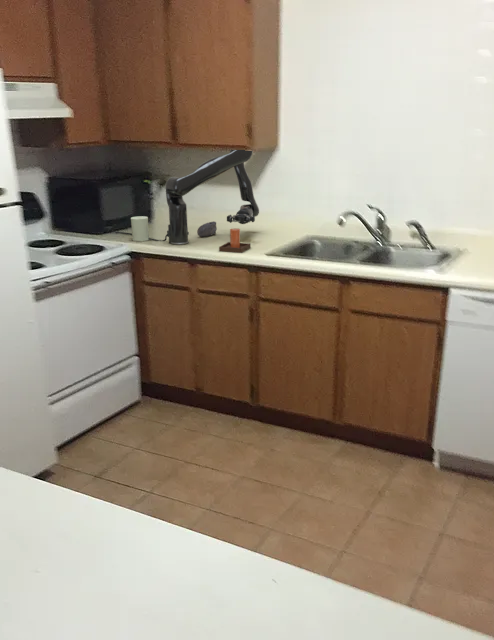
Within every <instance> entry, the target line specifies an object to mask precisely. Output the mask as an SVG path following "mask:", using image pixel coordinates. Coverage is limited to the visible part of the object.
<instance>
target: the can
mask: <svg viewBox="0 0 494 640" xmlns="http://www.w3.org/2000/svg"><path fill="white" fill-rule="evenodd" d="M130 224H131V225H130V226H131V233H132V235H131V237H132V241H133V242H147V241H150V240H149V238H150V231H149V229H150V228H149V217H148V216H145V215H143V216H142V215H141V216H140V215H139V216H132V217H130Z"/></svg>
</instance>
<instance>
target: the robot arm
mask: <svg viewBox="0 0 494 640" xmlns="http://www.w3.org/2000/svg"><path fill="white" fill-rule="evenodd" d="M252 157H253V150H252V151H245V150H230V149H229V153H226V154H222V155H217V156H214V157H212V158H211V157H210V158H209V159H207V160H205V161H203V162H201V163H200V164H199V165H198V166H197V168H195V169H194V171H192V172H191V173H189V174H187V175H184V176H175V175H174V176H169V178H168V179H167V180H166V183H165V197H166V203H167V206H168V218H169V220H168V221H169V224H168V225H167V230H166V234H165V236H164V239H162V240H161V239H155V238H153V237H151V238H150V237H149V240H148V241H155V242H165V241H167V238H168V244H171V245H175V246H176V245H187V244H189V234H190V232H189V225H188V224H189V223H188V206H187V203H186V202H185V200H184V198H183V197H184V196H185V195H186V196H187V194H189V193H190V192H191V191H192V190H194V189H195V188H197V187H199V186H201V185H202V184H205V183H207V182H209V181H210V180H213V179H215V178H216V177H218V176H220V175H222V174H224V173H225V172H228V171H229V170H230V169H232V168H233V169H234V172H235V175H236V178H237V182H238V188H239V194H240V199H241V201H243V202H248V203H247V204H242V205H241V206H240V208H239V210H238V211H237V212H236V214H228V215H226V222H228V223H230V224H232V223H238V224H240V225H246V224H248V223H254V222H255V221H256V217H258V216H259V215H260V208H259V205H258V203H257V201H256V198H255V195H254V188H253V184H252V180H251V178H250V176H249V174H248V172H247V169H246V167H245V163H246V162H248V161H249V160H251V158H252ZM111 230H112V231H109V230H107V231H106V234H108V233H109V232H111V233H115V234H122V235H123V234H124V235H130V236H132V232H125V231H116V230H113V229H111Z"/></svg>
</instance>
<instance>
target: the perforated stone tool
mask: <svg viewBox="0 0 494 640" xmlns="http://www.w3.org/2000/svg"><path fill="white" fill-rule="evenodd" d="M217 228H218V227H217V221H209V222H205V223H203V224H202V225H200V226H199V227H197V231H196V234H197V236H198V237H201V238H204V237H210V236H212V235H213V236H214V235H215V234H216V233H217Z"/></svg>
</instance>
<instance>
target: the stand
mask: <svg viewBox="0 0 494 640" xmlns="http://www.w3.org/2000/svg"><path fill="white" fill-rule="evenodd" d="M251 246H252V245H251V243H246V242H240V248H233V247H230V241H228V242H226V243H224V244H222V245H220V246H218V252H225V253H237V254H243V253H245V252H247V251H248V250H251V248H252V247H251Z"/></svg>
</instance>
